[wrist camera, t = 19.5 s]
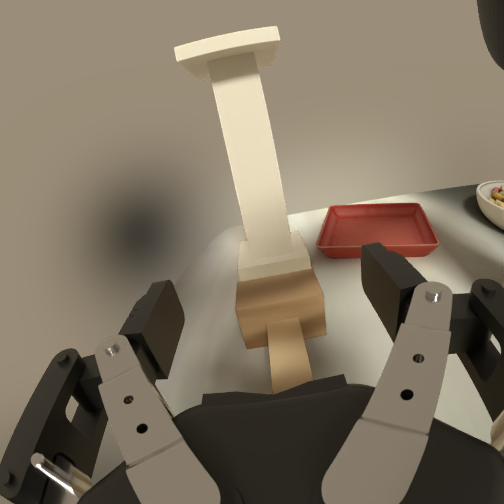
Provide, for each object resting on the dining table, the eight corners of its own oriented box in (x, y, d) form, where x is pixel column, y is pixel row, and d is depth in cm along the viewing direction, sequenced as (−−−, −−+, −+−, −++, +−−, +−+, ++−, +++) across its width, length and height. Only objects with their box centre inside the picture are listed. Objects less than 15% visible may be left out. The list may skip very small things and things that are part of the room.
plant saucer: (439, 264, 33) (441, 242, 31) (316, 266, 40) (314, 245, 39) (419, 218, 47) (418, 202, 46) (331, 221, 55) (329, 205, 53)
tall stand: (321, 274, 37) (276, 25, 24) (232, 290, 38) (173, 47, 25) (303, 236, 50) (269, 54, 37) (237, 248, 51) (195, 70, 38)
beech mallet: (375, 507, 10) (391, 489, 8) (247, 528, 11) (225, 516, 9) (316, 306, 31) (312, 268, 29) (247, 319, 32) (237, 282, 30)
